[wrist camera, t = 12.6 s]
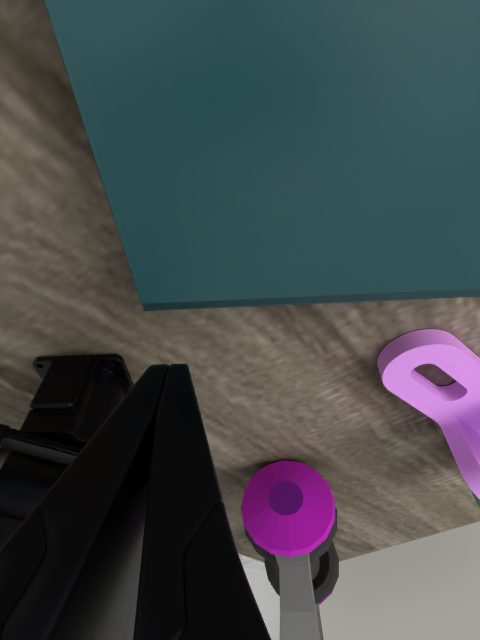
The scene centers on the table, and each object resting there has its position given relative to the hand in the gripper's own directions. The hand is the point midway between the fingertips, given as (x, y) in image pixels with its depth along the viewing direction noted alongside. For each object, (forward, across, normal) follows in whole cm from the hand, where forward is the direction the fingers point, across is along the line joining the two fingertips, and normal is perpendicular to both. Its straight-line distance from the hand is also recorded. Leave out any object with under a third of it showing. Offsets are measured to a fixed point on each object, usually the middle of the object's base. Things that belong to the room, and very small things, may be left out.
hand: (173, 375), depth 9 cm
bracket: (+13, -16, +16) cm, 26 cm away
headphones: (+13, -6, +37) cm, 40 cm away
